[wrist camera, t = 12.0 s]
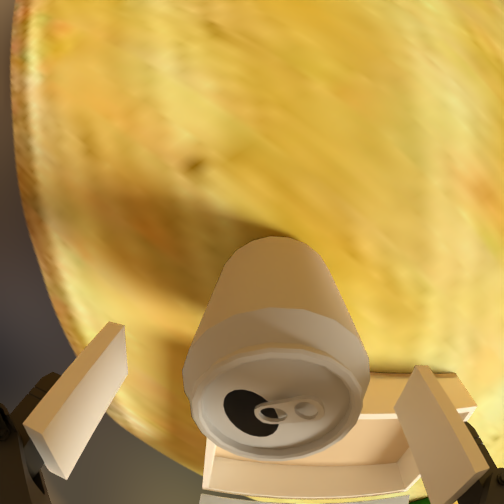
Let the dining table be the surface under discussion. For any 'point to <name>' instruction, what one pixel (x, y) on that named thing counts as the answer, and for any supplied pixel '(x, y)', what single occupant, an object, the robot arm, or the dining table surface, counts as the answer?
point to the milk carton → (422, 501)
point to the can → (276, 356)
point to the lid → (221, 503)
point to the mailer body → (339, 453)
